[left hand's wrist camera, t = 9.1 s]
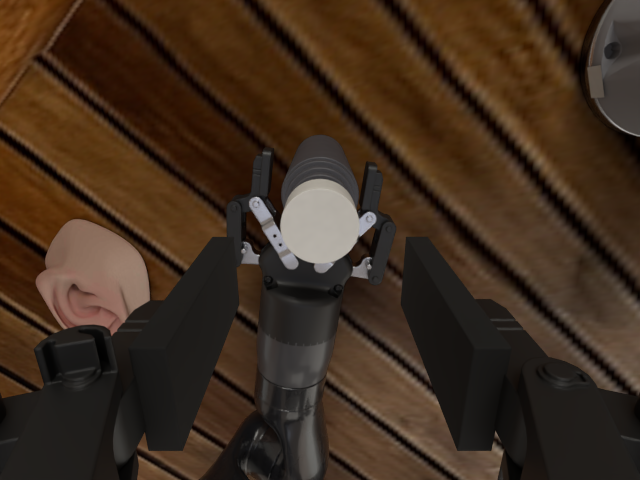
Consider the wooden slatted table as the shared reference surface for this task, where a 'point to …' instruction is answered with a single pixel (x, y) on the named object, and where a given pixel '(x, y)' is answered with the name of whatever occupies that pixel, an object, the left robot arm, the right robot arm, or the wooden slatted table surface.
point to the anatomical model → (92, 277)
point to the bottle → (319, 166)
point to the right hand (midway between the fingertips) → (320, 156)
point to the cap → (319, 221)
